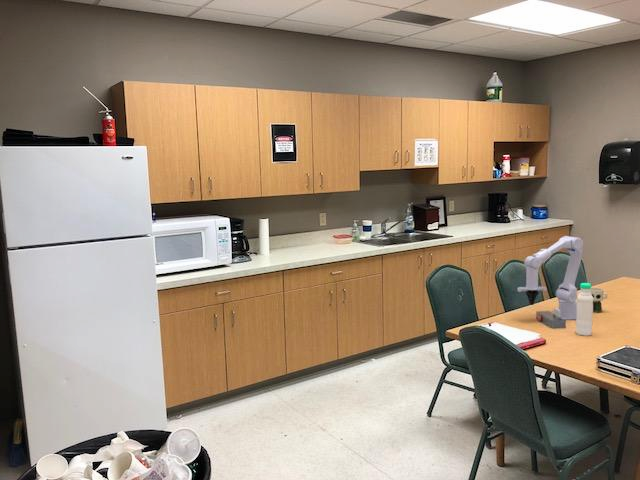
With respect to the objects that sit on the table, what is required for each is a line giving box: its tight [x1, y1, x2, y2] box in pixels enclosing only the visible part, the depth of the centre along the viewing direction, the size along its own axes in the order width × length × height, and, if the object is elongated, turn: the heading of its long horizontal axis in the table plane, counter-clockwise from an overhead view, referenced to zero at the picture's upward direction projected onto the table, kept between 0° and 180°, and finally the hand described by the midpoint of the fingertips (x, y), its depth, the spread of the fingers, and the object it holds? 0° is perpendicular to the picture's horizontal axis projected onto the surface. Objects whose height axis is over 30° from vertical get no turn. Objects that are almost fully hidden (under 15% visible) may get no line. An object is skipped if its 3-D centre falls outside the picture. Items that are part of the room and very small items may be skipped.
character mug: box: [590, 287, 608, 313], centre depth 289 cm, size 11×7×13 cm, turn 53°
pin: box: [536, 315, 542, 322], centre depth 274 cm, size 11×3×3 cm, turn 91°
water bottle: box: [575, 282, 594, 337], centre depth 250 cm, size 7×7×25 cm
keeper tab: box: [553, 307, 560, 317], centre depth 265 cm, size 1×5×4 cm, turn 1°
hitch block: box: [535, 310, 567, 329], centre depth 270 cm, size 7×18×5 cm, turn 1°
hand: (531, 304), depth 273 cm, fingers closed
